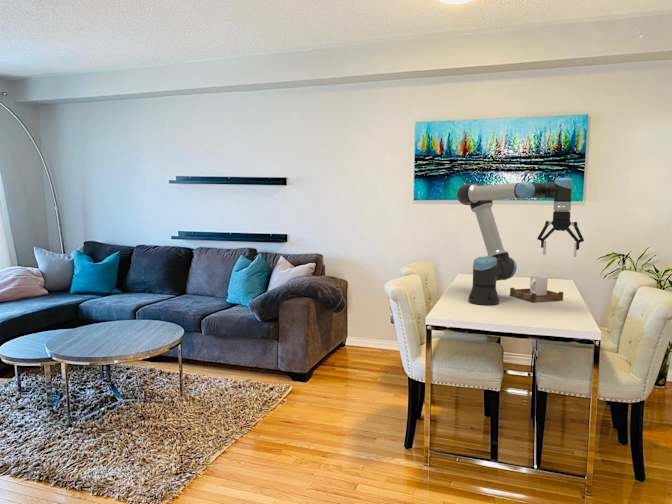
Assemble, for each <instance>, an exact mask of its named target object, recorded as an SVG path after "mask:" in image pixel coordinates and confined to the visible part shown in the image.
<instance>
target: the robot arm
mask: <svg viewBox="0 0 672 504" xmlns="http://www.w3.org/2000/svg"><path fill="white" fill-rule="evenodd" d="M572 191H573V179H572V178H569V177H560V178H559V177H557V178H555V179H554V181H553V182H538V181H537V182H532V181H521V182H514V183H511V182H510V183H499V184H484V183H464V184H462V185H460V186H459V187H458V189H457V190H456V199H457V201H458V203H460V204H462V205H464V206H469V207H470V210H471V212H473V213H474V214H475V216H476V220H477V222H478V226H479V230H480V232H481V236H482V239H483V243H484V246H485V250H486V253H487V256H485V255H484V256H478V257H476V258H474V260H473V265H472V288H471V290H470V293H469V294H468V303H470V304H473V305H481V306H496V305H499V303H500V298H499V294H498V292H497V282H498V281H505V280H508V279H509V280H510V279H512V278H513V277H514V275H515V274H516V272H517V263H516V261H515V259H514V258H512V257H510V254H509V252H508V251H507V250H505V249H504V245H503V243H502V239H501V236H500V233H499V230H498V227H497V223H496V220H495V216H494V213H493V210H492V207H493V205H494V204H493V201H496V200H499V201H501V200H516V199H517V200H518V199H553V208H552V209H553V211H552V220H550V221H549V220H545V222H544V226H543V228H542V230H541V231H540V233H539V234H538V236H537V241H540V242H541V243H540V244H541V245H540V248H542V256H545V255H546V253H547V241H546V240H547V239H548V237H550V236H551V235H552V234H553V233H554V232H555V231H557V232H558V231H560V232H565V231H566V232H567V233H568V234H569V235H570V237H572V239H573V241H575V242H574V247H573V258H576V257H577V251H578V250H580V244H581V243H583V242H584V241H585V239H584V237H583V235H582V232H581V231H580V229H579V226H578V222H577V221H572V222H571V209H572V208H571V207H572ZM550 225H551V226H552V228H551V229H550V230H549V231H548V232H547V233H546V234H545V232H546V231H547V229H548V227H549V226H550ZM571 225H572V227H574V230H575V232H576V234H577V236H578V237H577V236H576V234H575V233H574V232H573V231H572V230H571V228H570V226H571ZM544 234H545V235H544Z"/></svg>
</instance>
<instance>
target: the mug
mask: <svg viewBox="0 0 672 504" xmlns="http://www.w3.org/2000/svg"><path fill="white" fill-rule="evenodd" d="M548 279H549V277H548V276H547V275H546V276H545V275H539V274H538V275H530V279H529V280H530V282H529V283H530V284H529V289H530V295H532V294H536V296H537V295H547V290H548Z"/></svg>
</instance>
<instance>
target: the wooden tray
mask: <svg viewBox="0 0 672 504" xmlns="http://www.w3.org/2000/svg"><path fill="white" fill-rule="evenodd" d="M509 296H510V297H512V298H514V299H515V298H516V299H520V300H522V301H527V302H530V303H533V304H536V303H548V302H563V301H564V292H563V291H558V292H556V291H552V290H548V289H547V295H537V296H536V294H532V295H530V288H515V287H510V288H509Z"/></svg>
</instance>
